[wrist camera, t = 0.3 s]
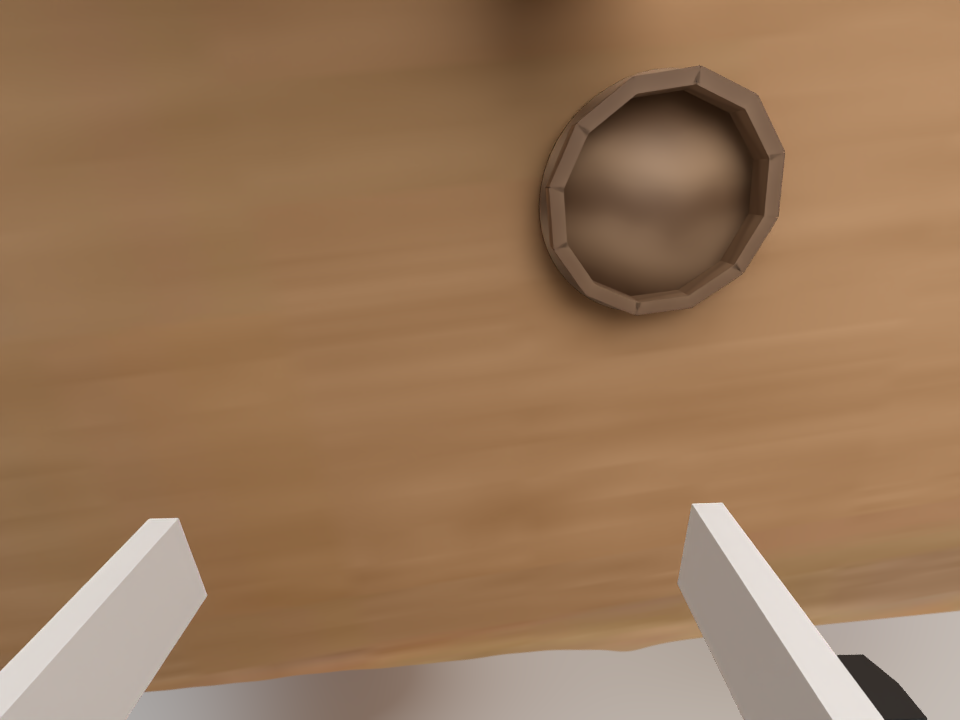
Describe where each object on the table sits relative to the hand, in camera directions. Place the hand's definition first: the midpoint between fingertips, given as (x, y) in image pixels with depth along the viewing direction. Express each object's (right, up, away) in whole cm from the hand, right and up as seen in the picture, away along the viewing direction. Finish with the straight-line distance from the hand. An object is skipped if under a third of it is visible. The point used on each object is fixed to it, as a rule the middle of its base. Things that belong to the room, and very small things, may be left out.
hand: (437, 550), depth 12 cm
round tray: (+14, +17, +22) cm, 31 cm away
